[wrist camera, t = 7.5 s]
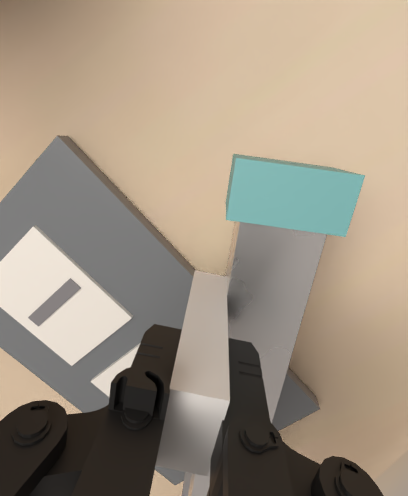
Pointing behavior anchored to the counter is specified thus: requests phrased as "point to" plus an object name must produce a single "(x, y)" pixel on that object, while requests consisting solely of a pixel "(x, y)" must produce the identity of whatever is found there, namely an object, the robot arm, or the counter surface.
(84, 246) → the label board
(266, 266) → the swing arm
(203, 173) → the counter surface
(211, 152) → the counter surface
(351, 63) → the counter surface
